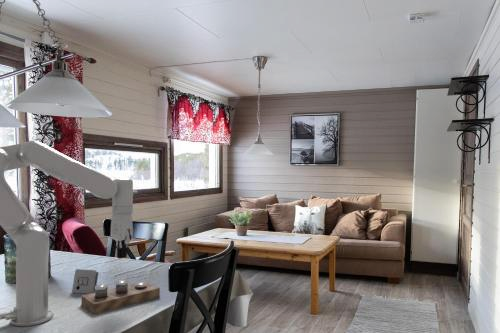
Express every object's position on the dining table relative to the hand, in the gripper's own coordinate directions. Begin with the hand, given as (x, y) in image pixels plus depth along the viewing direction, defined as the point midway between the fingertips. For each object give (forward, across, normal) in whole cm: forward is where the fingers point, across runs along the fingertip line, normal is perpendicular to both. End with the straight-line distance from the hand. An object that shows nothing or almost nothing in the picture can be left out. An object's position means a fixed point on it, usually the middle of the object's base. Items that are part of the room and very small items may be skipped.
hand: (121, 257), depth 149 cm
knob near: (+14, 0, -8) cm, 16 cm away
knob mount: (+17, 0, 0) cm, 17 cm away
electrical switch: (+17, -21, -6) cm, 28 cm away
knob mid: (+14, 0, 0) cm, 14 cm away
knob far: (+16, 0, +8) cm, 18 cm away
